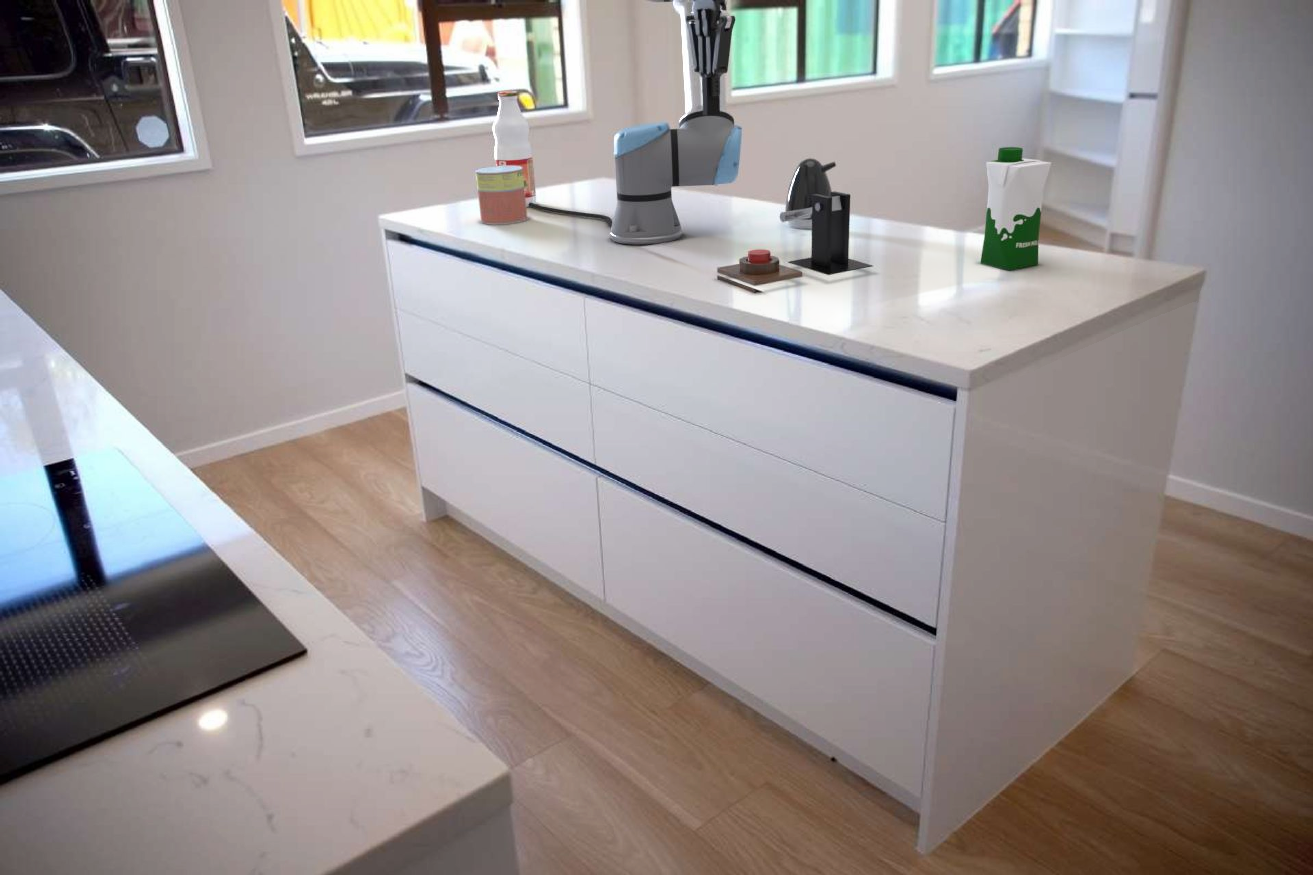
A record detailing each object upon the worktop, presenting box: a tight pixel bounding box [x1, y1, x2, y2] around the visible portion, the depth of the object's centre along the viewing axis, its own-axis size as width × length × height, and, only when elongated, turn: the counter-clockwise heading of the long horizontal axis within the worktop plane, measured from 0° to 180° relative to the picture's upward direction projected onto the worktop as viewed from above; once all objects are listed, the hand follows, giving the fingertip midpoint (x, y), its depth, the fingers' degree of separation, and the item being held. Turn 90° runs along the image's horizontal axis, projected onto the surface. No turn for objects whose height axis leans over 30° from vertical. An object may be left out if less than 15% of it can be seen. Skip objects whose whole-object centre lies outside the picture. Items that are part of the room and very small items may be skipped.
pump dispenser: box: [784, 157, 837, 230], centre depth 210 cm, size 10×10×15 cm
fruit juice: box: [492, 90, 537, 208], centre depth 252 cm, size 9×9×28 cm
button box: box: [716, 255, 803, 294], centre depth 175 cm, size 12×10×4 cm
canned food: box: [474, 165, 529, 226], centre depth 238 cm, size 11×11×12 cm
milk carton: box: [979, 146, 1052, 271], centre depth 176 cm, size 9×9×20 cm
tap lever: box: [779, 196, 842, 223], centre depth 181 cm, size 13×6×2 cm, turn 29°
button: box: [747, 248, 772, 263], centre depth 174 cm, size 4×4×2 cm
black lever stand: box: [787, 190, 874, 276], centre depth 178 cm, size 12×10×14 cm
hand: (711, 114), depth 181 cm, fingers closed
